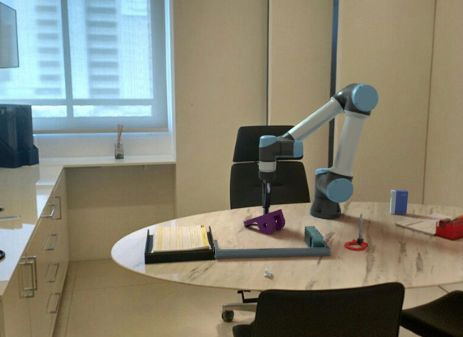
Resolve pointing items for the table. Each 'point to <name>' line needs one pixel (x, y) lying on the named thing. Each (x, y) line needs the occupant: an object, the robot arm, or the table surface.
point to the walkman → (398, 201)
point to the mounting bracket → (268, 221)
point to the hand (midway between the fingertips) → (265, 220)
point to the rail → (310, 237)
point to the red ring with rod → (359, 240)
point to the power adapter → (267, 272)
